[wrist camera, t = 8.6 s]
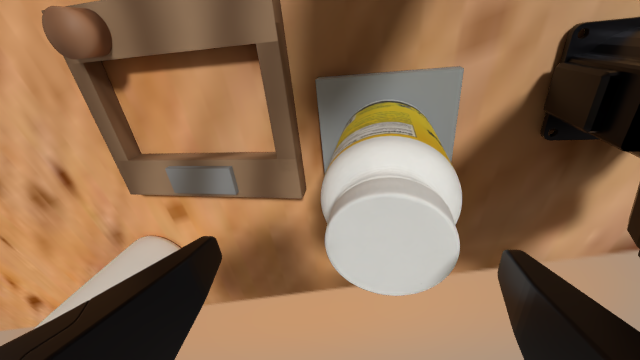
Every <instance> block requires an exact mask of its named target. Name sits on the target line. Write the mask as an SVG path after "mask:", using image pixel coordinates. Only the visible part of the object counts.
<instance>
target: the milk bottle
mask: <svg viewBox="0 0 640 360" xmlns="http://www.w3.org/2000/svg"><path fill="white" fill-rule="evenodd" d="M179 249H181V248H180V247H179V246H178V245H176V244H175V243H173V242H171V241H170V240H167V239H165V238H162V237H159V236H145V237H142V238H139V239H138V240H136V241H135V242H134V243H132V244H131V245H130V246H129V247H128V248H126V249H125V250H124V251H123V252H122V253H120V254H119V255H118V256H117V257H116V258H115V259H113V260H112V261H111V262H110V263H109V264H108V265H106V266H105V267H104V268H103V269H102V270H100V271H99V272H98V273H97V274H96V275H95V276H93V277H92V278H91V279H90V280H89V281H88V282H86V283H85V284H84V285H83V286H82V287H81V288H79V289H78V290H77V291H76V292H75V293H74V294H73V295H71V296H70V297H69V298H68V299H67V300H66V301H64V302H63V303H62V304H61V305H60V306H59V307H58V308H56V309H55V310H54V311H53V312H52V313H51V314H50V315H48V316H47V317H46V318H45V319H44V320H43V321H42V322H41V323H40V324H39V325H37V326H36V327H35V328H37V327H39V326H41V325H43V324H45V323H47V322H49V321H51V320H53V319H55V318H57V317H58V316H60V315H62V314H64V313H66V312H68V311H69V310H71V309H73V308H75V307H77V306H79V305H80V304H82V303H84V302H86V301H87V300H90V299H91V298H93V297H95V296H97V295H98V294H100V293H102V292H104V291H106V290H107V289H109V288H111V287H113V286H114V285H116V284H118V283H120V282H122V281H123V280H125V279H127V278H129V277H131V276H132V275H134V274H136V273H138V272H140V271H141V270H143V269H145V268H147V267H149V266H150V265H152V264H154V263H156V262H158V261H159V260H161V259H163V258H165V257H167V256H168V255H170V254H172V253H174V252H175V251H177V250H179ZM35 328H34V329H35Z"/></svg>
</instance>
